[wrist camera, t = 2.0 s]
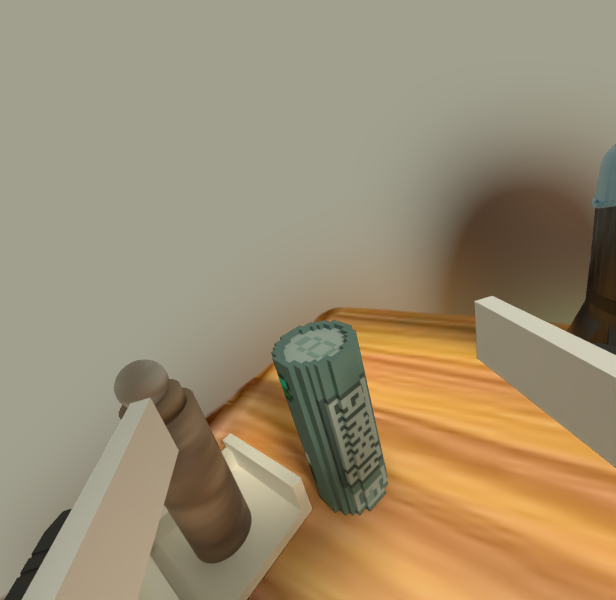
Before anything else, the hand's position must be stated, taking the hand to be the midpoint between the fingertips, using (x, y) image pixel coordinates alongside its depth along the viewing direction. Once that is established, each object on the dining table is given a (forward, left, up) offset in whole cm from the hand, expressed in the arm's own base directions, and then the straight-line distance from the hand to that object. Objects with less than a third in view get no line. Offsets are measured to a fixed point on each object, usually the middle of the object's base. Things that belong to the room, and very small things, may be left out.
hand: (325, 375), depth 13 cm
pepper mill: (+3, -14, -18) cm, 23 cm away
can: (-7, -7, -19) cm, 22 cm away
